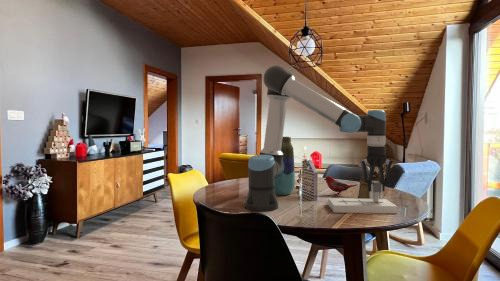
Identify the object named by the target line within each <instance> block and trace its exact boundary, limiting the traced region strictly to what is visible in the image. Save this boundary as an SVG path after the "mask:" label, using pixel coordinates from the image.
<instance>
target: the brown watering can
mask: <svg viewBox="0 0 500 281" xmlns="http://www.w3.org/2000/svg"><path fill="white" fill-rule="evenodd" d="M385 170H386V164H383V172H384V171H385ZM367 180H368V176H367ZM372 181H379V182H380V176H379V170H378V171H377V173H376V175H373V178H372ZM367 186H368V184H367V183H365V182H363V176H360V180H359V189H358V195H357V197H356V199H370V191H368V190H367V188H368V187H367ZM373 197H374V192H373Z"/></svg>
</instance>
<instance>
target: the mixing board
mask: <svg viewBox="0 0 500 281" xmlns="http://www.w3.org/2000/svg"><path fill="white" fill-rule="evenodd" d="M327 200H328V201H327V204H328V207H329V208H330V209H331V211H332V212H333V213H343V214H344V213H349V214H350V213H353V214H354V213H357V214H359V213H360V214H398V206H397V205H396V204H394V203H393V202H391V201H389V200H388V199H386V198H382V200H381V199H379V198H378V202H374V201H373V199H357V198H346V197H345V198H344V197H343V198H339V197H338V198H337V197H336V198H333V197H330V198H329V197H328V198H327Z"/></svg>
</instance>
